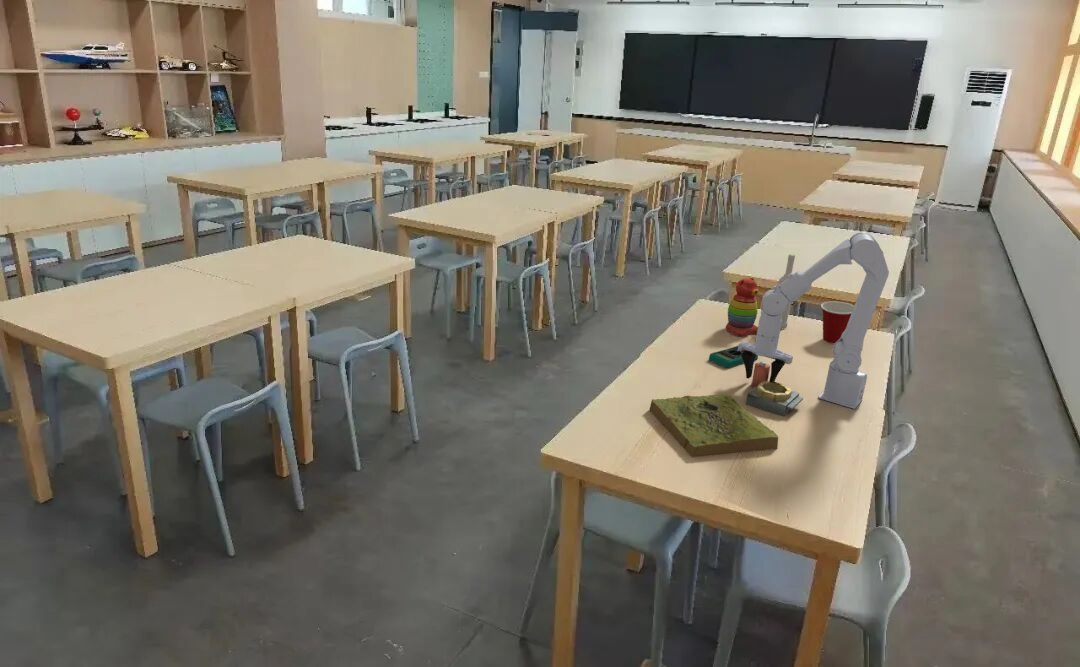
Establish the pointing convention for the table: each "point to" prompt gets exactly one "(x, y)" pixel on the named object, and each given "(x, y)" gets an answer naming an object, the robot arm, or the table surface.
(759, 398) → the stone well model
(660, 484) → the table surface
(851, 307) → the plastic cup
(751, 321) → the stacking bear
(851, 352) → the robot arm
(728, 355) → the digital multimeter
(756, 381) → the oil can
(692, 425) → the miniature landscape model
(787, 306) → the bottle
